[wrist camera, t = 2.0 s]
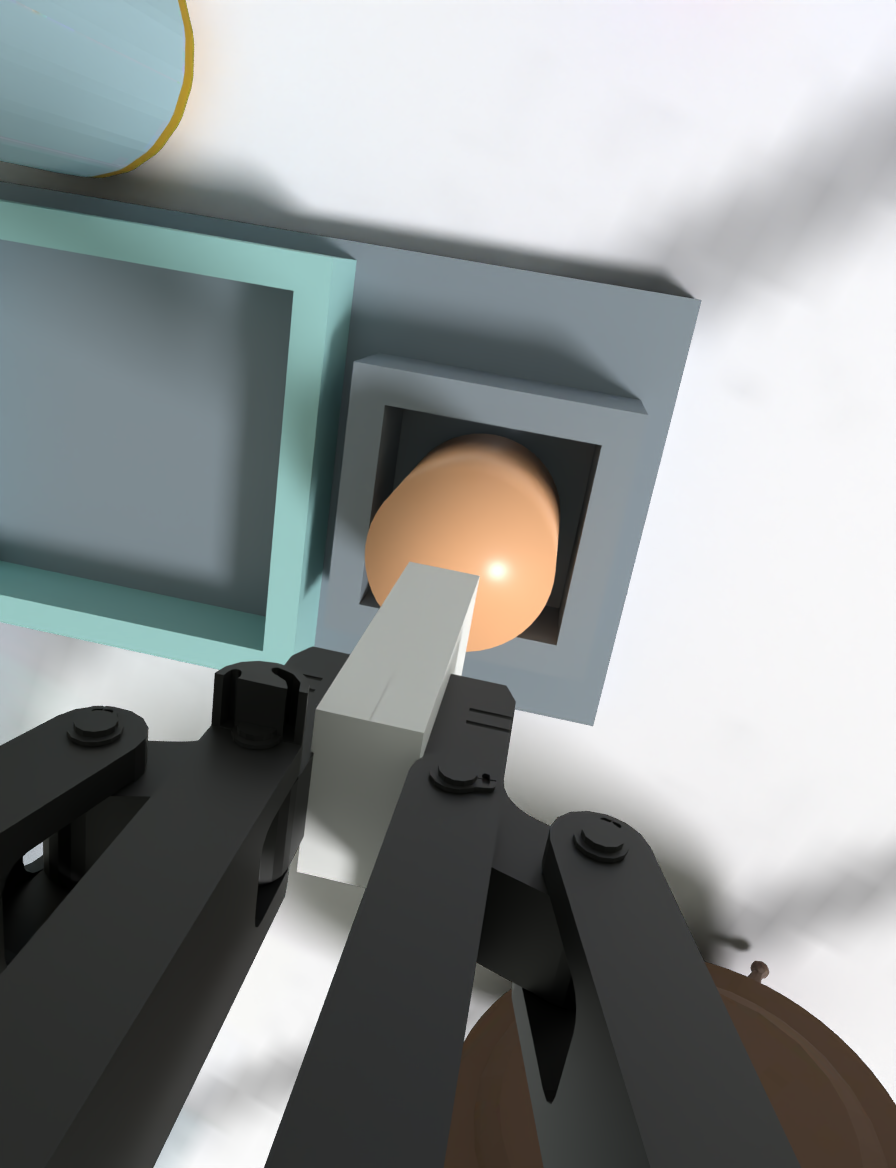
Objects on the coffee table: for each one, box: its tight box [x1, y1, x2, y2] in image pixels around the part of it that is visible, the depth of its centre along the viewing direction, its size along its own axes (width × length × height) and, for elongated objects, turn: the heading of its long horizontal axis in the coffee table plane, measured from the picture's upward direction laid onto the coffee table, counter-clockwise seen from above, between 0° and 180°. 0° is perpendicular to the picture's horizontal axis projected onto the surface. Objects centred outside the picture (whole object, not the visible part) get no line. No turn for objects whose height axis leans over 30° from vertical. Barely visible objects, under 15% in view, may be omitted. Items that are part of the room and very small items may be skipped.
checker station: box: [0, 181, 701, 726], centre depth 26 cm, size 14×24×4 cm, turn 81°
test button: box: [365, 434, 560, 652], centre depth 23 cm, size 5×5×5 cm
